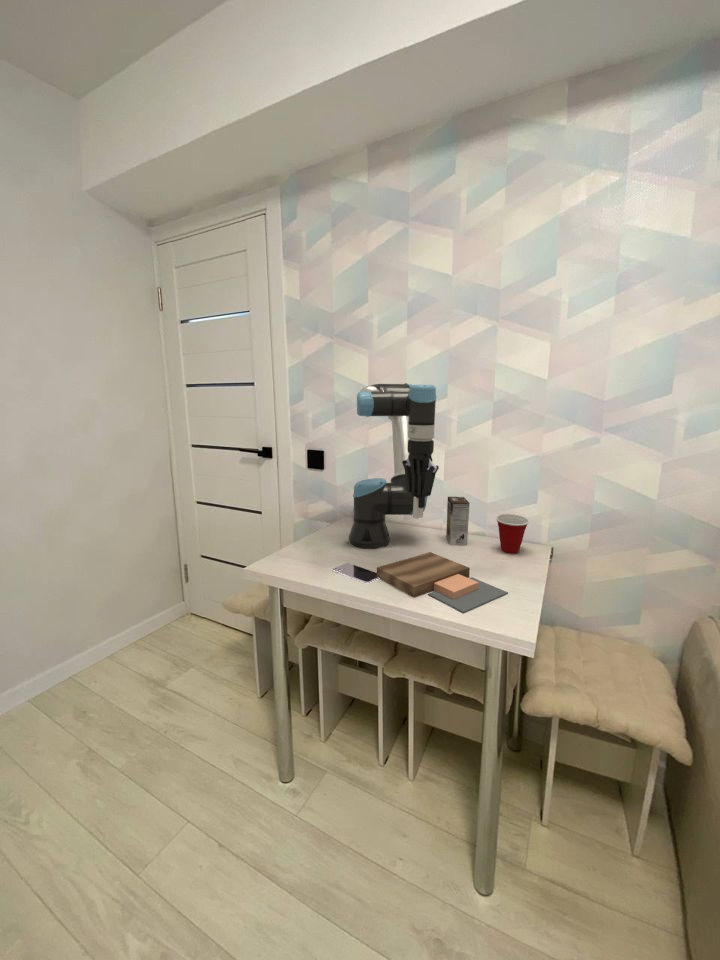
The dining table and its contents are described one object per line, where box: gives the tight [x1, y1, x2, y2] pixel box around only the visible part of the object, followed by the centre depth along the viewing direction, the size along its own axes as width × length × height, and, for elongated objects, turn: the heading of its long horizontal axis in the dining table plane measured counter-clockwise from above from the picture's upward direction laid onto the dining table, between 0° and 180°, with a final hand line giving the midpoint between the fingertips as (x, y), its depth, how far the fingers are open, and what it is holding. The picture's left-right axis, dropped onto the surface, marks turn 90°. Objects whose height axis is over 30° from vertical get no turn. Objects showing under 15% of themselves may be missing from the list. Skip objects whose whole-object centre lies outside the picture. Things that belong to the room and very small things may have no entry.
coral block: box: [434, 574, 478, 599], centre depth 110 cm, size 7×10×2 cm
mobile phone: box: [332, 562, 380, 584], centre depth 122 cm, size 8×1×15 cm
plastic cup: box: [495, 513, 530, 555], centre depth 140 cm, size 11×11×12 cm
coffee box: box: [445, 496, 470, 546], centre depth 150 cm, size 9×6×16 cm
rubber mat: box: [427, 577, 509, 614], centre depth 108 cm, size 12×18×1 cm, turn 126°
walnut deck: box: [376, 551, 471, 598], centre depth 119 cm, size 16×22×3 cm
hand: (417, 517), depth 122 cm, fingers closed
